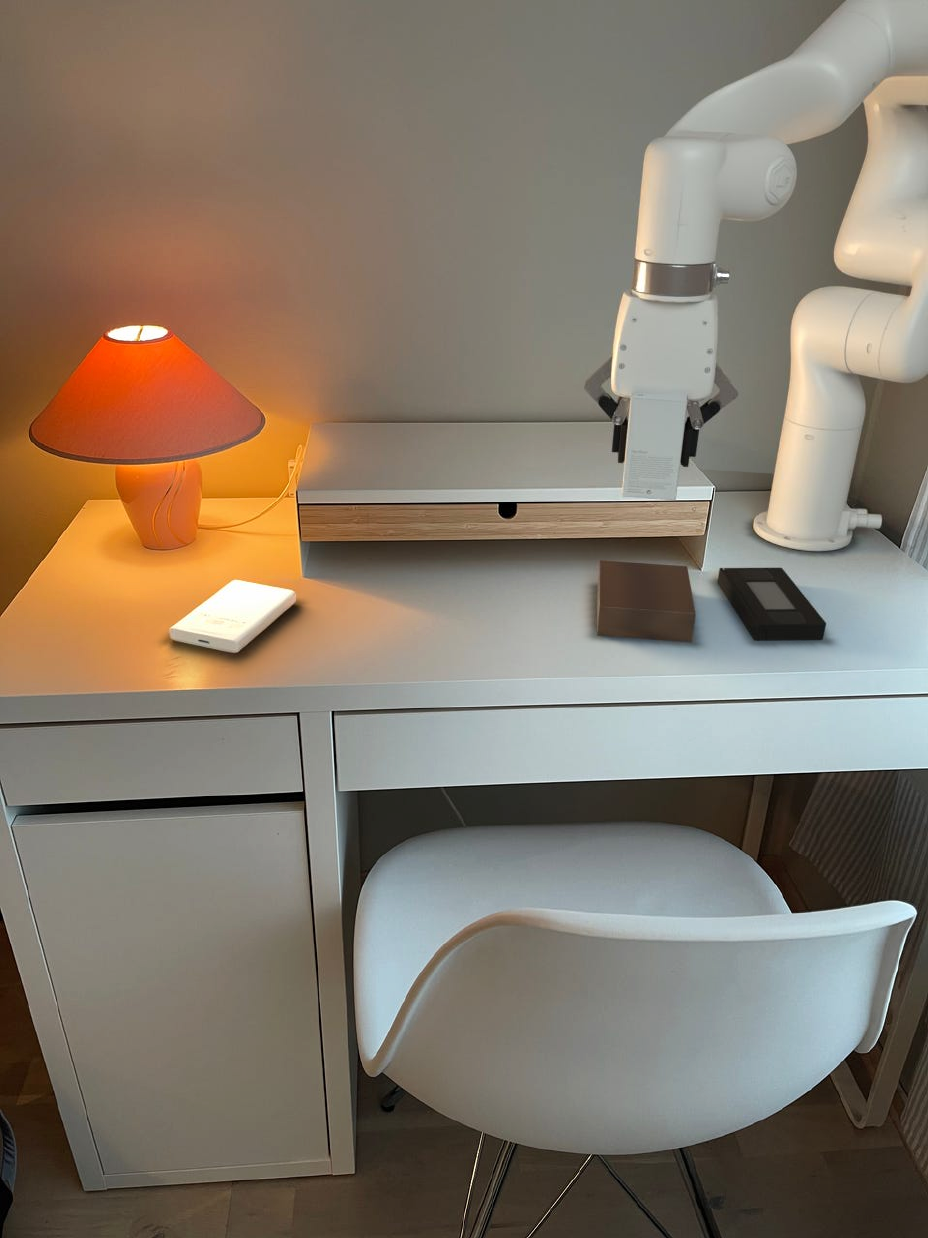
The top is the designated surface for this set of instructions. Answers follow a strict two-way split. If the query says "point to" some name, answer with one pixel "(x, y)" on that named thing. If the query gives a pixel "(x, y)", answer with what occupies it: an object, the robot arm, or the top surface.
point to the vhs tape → (771, 604)
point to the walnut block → (645, 601)
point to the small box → (654, 445)
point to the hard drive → (233, 616)
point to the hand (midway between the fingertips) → (652, 459)
